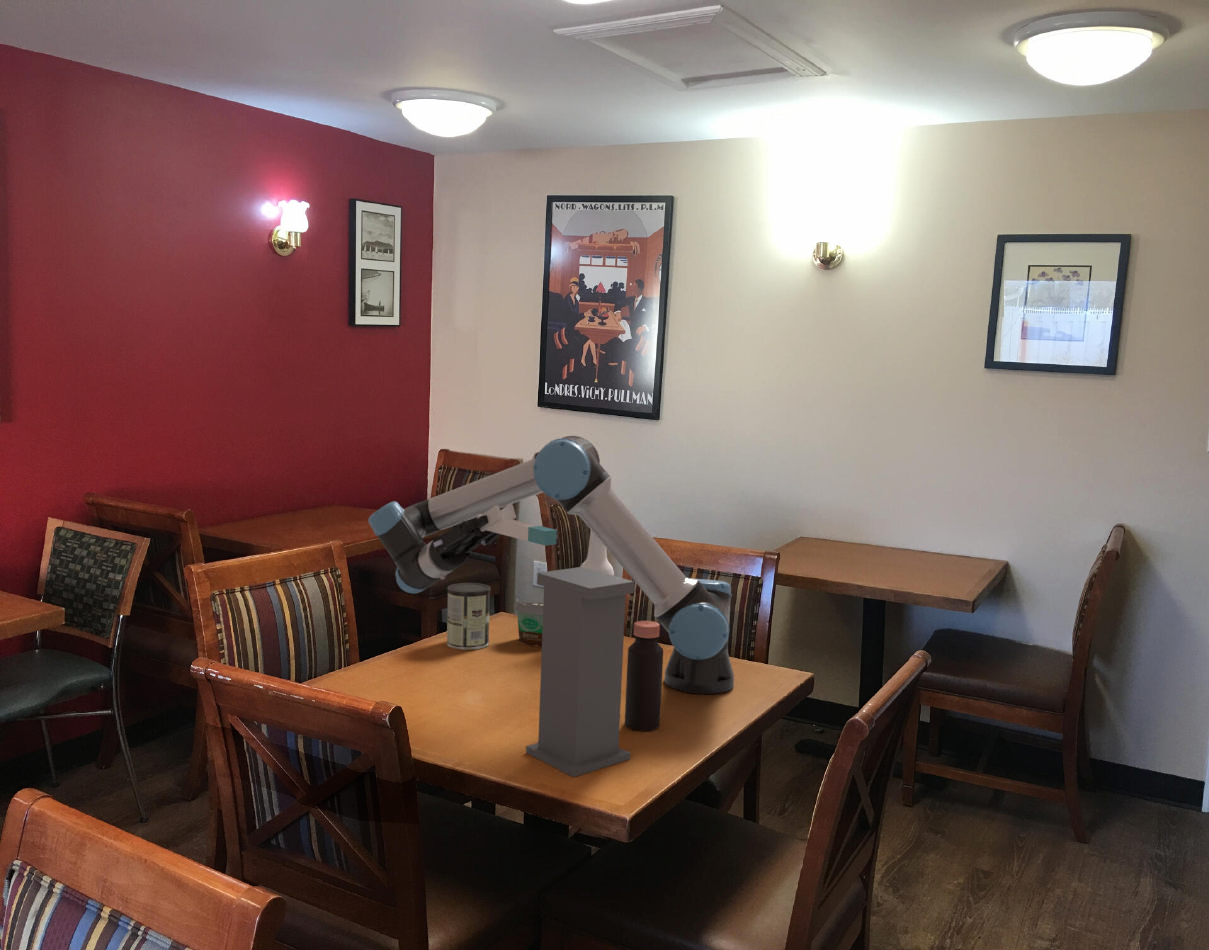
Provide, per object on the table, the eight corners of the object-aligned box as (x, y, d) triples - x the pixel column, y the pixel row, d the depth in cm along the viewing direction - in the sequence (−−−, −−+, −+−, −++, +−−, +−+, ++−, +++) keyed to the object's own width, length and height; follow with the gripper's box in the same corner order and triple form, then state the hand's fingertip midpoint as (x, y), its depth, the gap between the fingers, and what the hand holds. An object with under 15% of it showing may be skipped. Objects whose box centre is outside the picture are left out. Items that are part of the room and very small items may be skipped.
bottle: (633, 733, 188) (638, 629, 186) (618, 721, 195) (623, 620, 192) (665, 729, 191) (671, 627, 189) (650, 717, 197) (655, 618, 195)
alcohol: (571, 638, 252) (576, 519, 249) (605, 636, 254) (610, 519, 251) (580, 647, 244) (585, 525, 240) (615, 646, 246) (620, 525, 243)
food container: (507, 644, 244) (508, 604, 243) (514, 638, 250) (515, 598, 249) (557, 649, 242) (558, 608, 241) (562, 642, 248) (564, 602, 247)
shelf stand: (524, 751, 177) (530, 573, 174) (580, 735, 186) (587, 566, 182) (575, 778, 167) (583, 589, 164) (632, 760, 176) (640, 580, 172)
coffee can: (464, 636, 250) (466, 580, 248) (497, 643, 244) (499, 586, 243) (436, 644, 241) (438, 587, 239) (470, 652, 236) (471, 594, 234)
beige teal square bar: (477, 528, 194) (477, 514, 194) (488, 526, 196) (488, 513, 196) (545, 545, 179) (545, 531, 179) (556, 544, 181) (556, 530, 180)
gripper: (480, 567, 210) (543, 526, 194) (415, 575, 199) (476, 533, 183) (471, 534, 212) (533, 490, 196) (406, 540, 201) (466, 495, 185)
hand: (505, 511), depth 189 cm, fingers closed on beige teal square bar, 3 cm apart
